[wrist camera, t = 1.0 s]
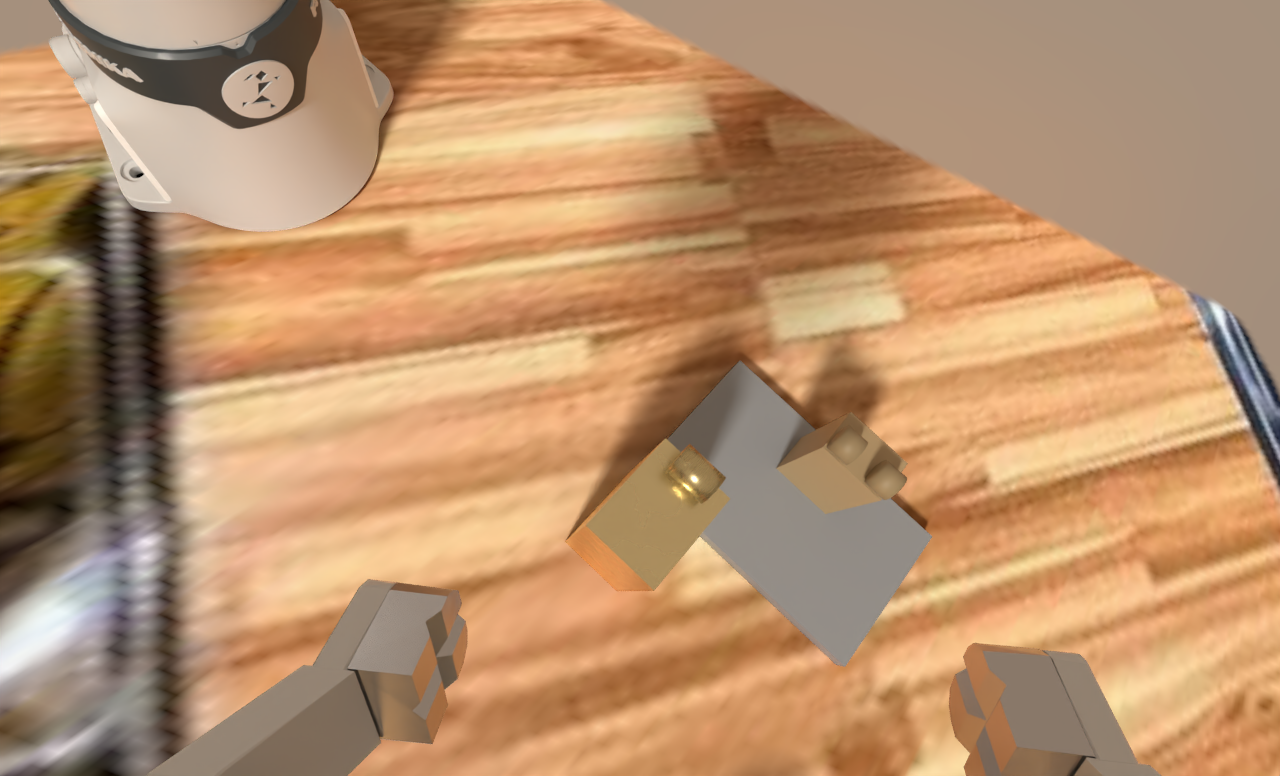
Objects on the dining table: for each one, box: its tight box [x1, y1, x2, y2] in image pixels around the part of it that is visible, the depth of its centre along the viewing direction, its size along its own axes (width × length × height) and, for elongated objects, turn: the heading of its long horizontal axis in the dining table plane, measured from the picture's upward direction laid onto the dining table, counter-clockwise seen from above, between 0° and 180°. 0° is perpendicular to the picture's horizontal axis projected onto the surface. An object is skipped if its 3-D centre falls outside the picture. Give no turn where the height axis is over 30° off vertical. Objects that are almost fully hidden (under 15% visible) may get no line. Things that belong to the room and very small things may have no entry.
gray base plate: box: [667, 361, 932, 667], centre depth 41 cm, size 18×11×10 cm, turn 48°
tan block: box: [565, 438, 730, 591], centre depth 37 cm, size 4×6×13 cm
